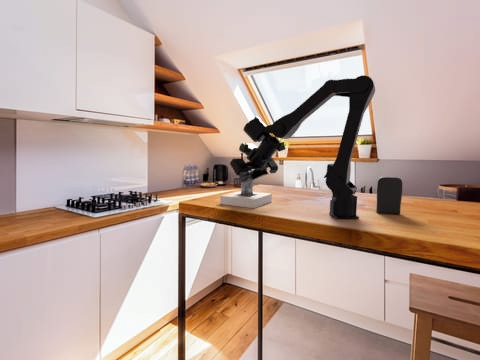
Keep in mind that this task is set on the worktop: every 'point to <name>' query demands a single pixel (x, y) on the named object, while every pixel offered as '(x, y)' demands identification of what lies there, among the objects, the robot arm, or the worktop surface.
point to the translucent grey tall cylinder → (247, 186)
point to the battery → (389, 195)
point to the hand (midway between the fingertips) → (244, 181)
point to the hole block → (246, 199)
